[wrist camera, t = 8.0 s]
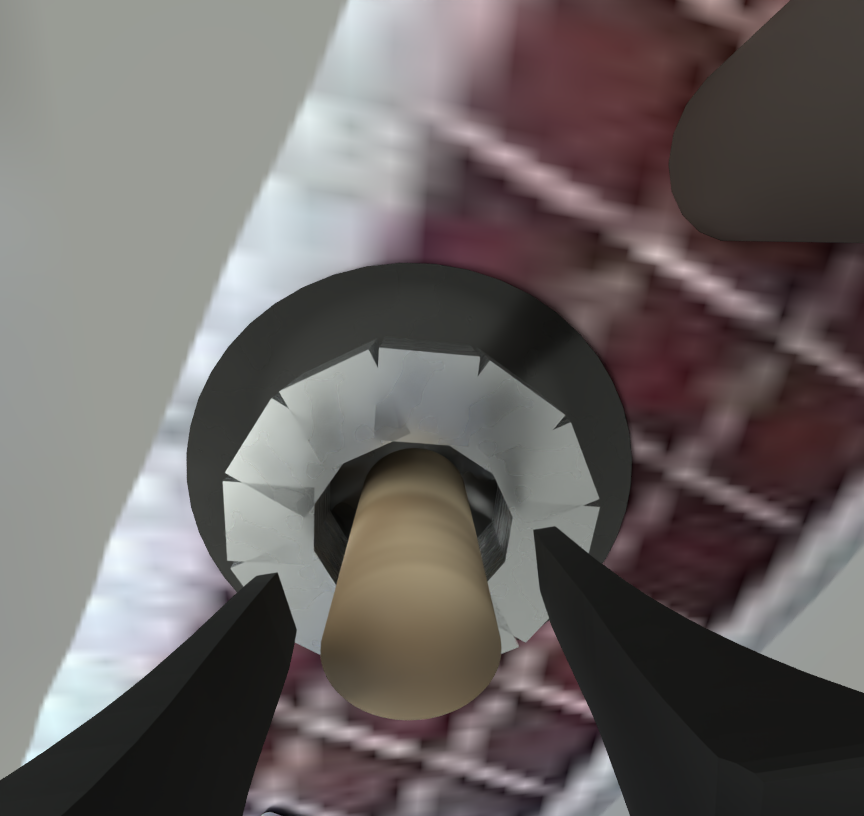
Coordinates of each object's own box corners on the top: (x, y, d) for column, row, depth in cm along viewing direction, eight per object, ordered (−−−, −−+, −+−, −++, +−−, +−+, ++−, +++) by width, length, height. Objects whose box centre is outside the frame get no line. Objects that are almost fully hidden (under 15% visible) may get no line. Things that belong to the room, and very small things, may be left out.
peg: (427, 556, 16) (434, 742, 10) (342, 508, 16) (287, 675, 9) (486, 483, 16) (538, 632, 9) (399, 428, 15) (384, 546, 8)
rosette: (458, 712, 19) (464, 780, 17) (116, 541, 16) (56, 593, 13) (717, 441, 16) (779, 473, 13) (343, 147, 12) (323, 109, 10)
